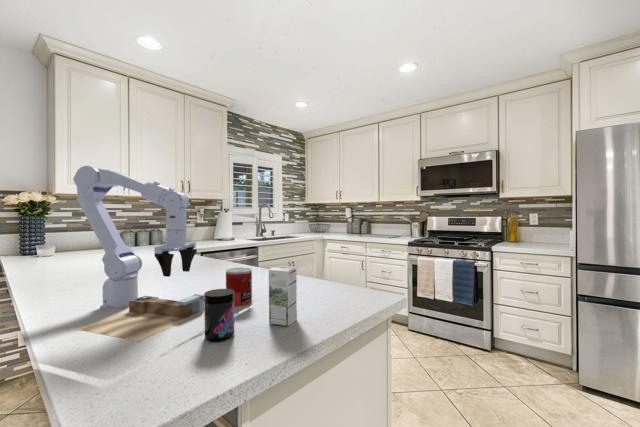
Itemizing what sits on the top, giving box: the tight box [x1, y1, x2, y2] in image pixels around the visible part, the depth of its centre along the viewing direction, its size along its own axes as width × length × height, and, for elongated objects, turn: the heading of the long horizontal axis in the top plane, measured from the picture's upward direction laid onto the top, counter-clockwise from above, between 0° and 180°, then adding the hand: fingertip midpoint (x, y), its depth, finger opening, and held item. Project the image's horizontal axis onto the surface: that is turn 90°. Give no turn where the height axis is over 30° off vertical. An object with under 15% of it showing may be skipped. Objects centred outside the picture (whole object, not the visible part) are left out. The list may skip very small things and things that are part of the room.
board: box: [76, 310, 204, 342], centre depth 80 cm, size 21×23×1 cm
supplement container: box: [203, 288, 235, 343], centre depth 70 cm, size 7×7×10 cm
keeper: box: [176, 293, 204, 313], centre depth 83 cm, size 3×7×4 cm, turn 160°
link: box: [128, 295, 192, 318], centre depth 85 cm, size 19×5×3 cm, turn 70°
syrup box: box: [268, 265, 298, 328], centre depth 79 cm, size 6×6×14 cm
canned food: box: [225, 267, 253, 307], centre depth 94 cm, size 8×8×11 cm
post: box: [138, 295, 148, 301], centre depth 87 cm, size 2×2×4 cm
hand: (176, 273), depth 94 cm, fingers open, 7 cm apart
